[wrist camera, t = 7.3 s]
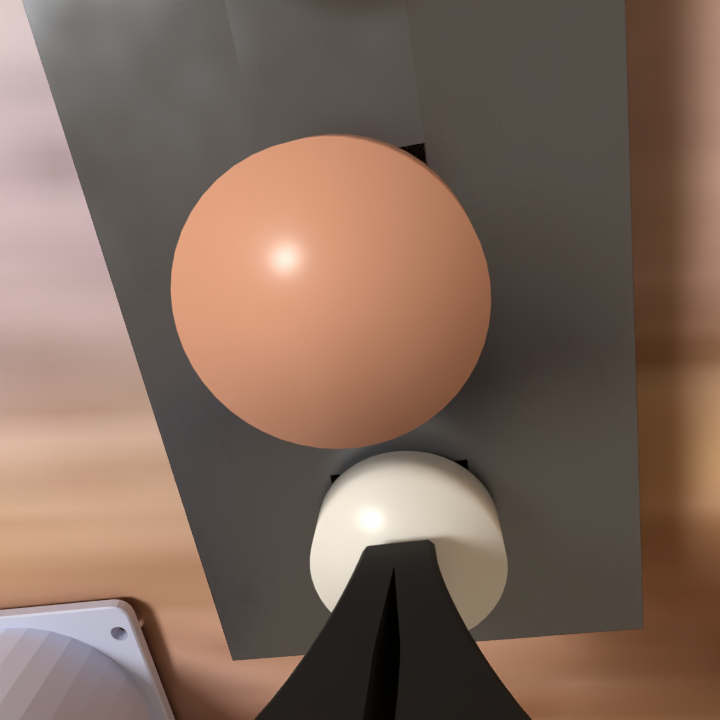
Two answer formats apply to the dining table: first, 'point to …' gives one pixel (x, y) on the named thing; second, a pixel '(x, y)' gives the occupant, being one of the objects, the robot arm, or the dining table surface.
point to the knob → (413, 526)
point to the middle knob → (331, 291)
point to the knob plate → (488, 217)
